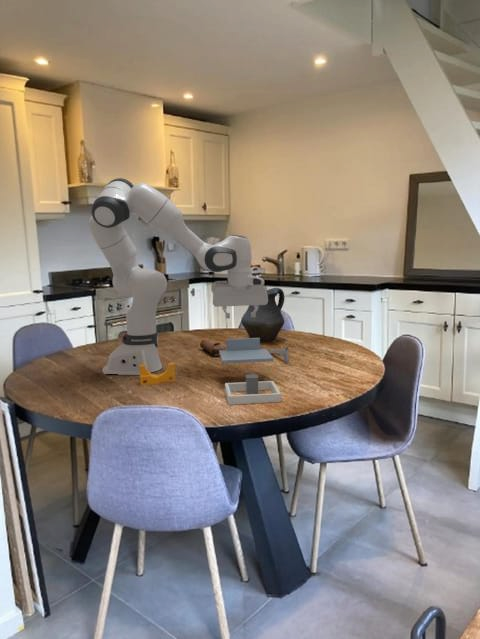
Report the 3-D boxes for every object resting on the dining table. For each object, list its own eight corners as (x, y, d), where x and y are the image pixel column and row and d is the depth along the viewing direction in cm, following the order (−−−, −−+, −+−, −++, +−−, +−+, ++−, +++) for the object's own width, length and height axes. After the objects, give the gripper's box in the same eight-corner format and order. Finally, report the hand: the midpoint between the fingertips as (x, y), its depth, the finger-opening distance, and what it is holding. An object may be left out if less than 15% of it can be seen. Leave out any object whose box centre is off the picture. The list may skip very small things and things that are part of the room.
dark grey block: (247, 399, 161) (246, 378, 159) (245, 396, 164) (245, 375, 163) (258, 399, 161) (258, 377, 160) (256, 395, 164) (256, 374, 163)
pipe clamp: (140, 385, 177) (139, 367, 176) (140, 382, 182) (139, 364, 180) (175, 383, 180) (174, 365, 179) (174, 380, 184) (174, 362, 183)
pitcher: (234, 339, 251) (233, 288, 247) (272, 334, 262) (271, 285, 257) (255, 346, 234) (254, 292, 229) (295, 341, 244) (295, 289, 239)
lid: (222, 363, 169) (222, 348, 169) (219, 353, 184) (218, 339, 183) (273, 361, 171) (273, 346, 170) (266, 351, 186) (266, 337, 185)
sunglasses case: (231, 350, 219) (221, 339, 216) (219, 362, 218) (209, 351, 215) (217, 342, 235) (207, 332, 233) (206, 353, 234) (197, 343, 232)
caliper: (289, 363, 202) (289, 347, 201) (286, 363, 202) (286, 348, 201) (271, 351, 221) (271, 337, 220) (268, 351, 221) (268, 337, 220)
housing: (228, 406, 155) (228, 396, 154) (225, 392, 168) (224, 383, 168) (281, 403, 156) (281, 393, 156) (273, 389, 170) (273, 380, 170)
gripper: (211, 281, 183) (212, 320, 185) (268, 280, 185) (268, 318, 187) (210, 280, 189) (211, 317, 191) (265, 278, 191) (266, 315, 193)
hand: (240, 317), depth 189 cm, fingers open, 8 cm apart
